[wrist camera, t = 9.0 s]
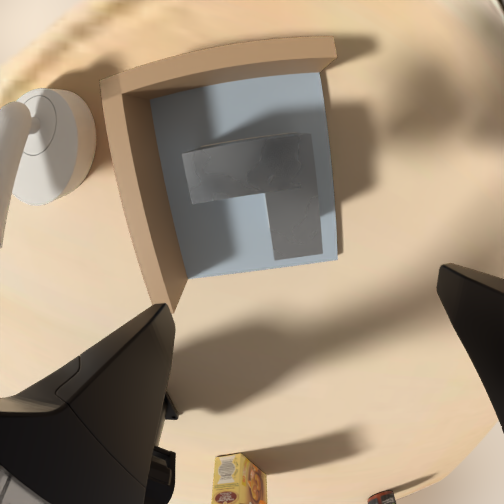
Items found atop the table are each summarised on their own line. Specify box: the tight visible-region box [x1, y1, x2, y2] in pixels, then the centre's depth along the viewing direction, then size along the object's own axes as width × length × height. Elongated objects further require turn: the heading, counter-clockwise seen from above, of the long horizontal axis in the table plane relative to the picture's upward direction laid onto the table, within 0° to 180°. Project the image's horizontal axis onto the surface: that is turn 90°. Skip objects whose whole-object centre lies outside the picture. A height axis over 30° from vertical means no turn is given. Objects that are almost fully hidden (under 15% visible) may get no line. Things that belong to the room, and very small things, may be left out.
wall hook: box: [0, 88, 96, 248], centre depth 14 cm, size 9×10×10 cm
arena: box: [99, 36, 338, 314], centre depth 17 cm, size 14×12×5 cm
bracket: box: [182, 132, 323, 261], centre depth 16 cm, size 6×6×5 cm
